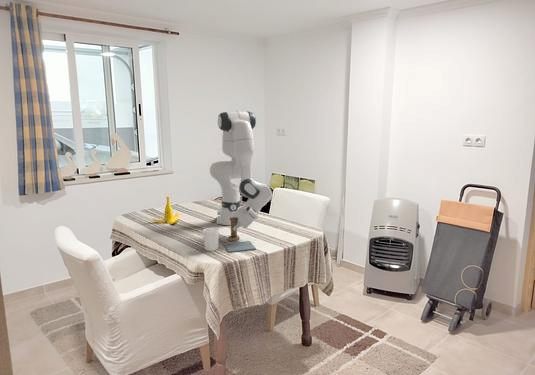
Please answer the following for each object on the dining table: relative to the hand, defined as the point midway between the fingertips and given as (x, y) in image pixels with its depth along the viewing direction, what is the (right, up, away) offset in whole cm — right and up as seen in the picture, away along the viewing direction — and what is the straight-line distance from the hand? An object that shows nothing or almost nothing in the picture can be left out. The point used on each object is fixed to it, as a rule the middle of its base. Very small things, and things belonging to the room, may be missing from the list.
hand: (232, 228), depth 213 cm
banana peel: (-43, 0, +37) cm, 57 cm away
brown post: (+1, -6, +1) cm, 6 cm away
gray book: (+5, -9, -11) cm, 15 cm away
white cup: (-10, -9, -13) cm, 19 cm away
